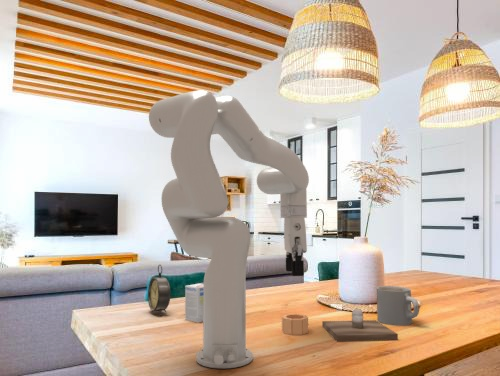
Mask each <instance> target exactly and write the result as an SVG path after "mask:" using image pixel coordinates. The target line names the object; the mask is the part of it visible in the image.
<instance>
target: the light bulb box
mask: <svg viewBox="0 0 500 376" xmlns="http://www.w3.org/2000/svg"><path fill="white" fill-rule="evenodd" d="M203 288H204V282H201V283H199V282H198V283H195V284H194V283H193V284H190V285H189V284H187V285H185V291H184V293H185V294H184V295H185V298H184V300H185V301H184V303H185V304H184V305H185V307H184V312H185V313H184V317H185V318H184V320H185V321H189V322H194V323H197V324H198V323H199V324H200V323H202V322H203V302H204V289H203Z"/></svg>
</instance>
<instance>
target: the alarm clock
mask: <svg viewBox="0 0 500 376" xmlns="http://www.w3.org/2000/svg"><path fill="white" fill-rule="evenodd" d="M160 268H161V271H160V270H159V269H160ZM157 272H158V277H154V276H153V277H152V278H151V279H150V282H149V284H148V290H147V299H148V301H147V302H148V306H149V309H150V311H151V312H159V317H162V316H163V315H162V311H164V313H167V310H166V309H168V307H169V305H170V301H171V296H172V294H171V286H170V282H169V280H168V279H167V278H166V277H164V276H162V274H163V266H162V264H159V265H158V266H157Z"/></svg>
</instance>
